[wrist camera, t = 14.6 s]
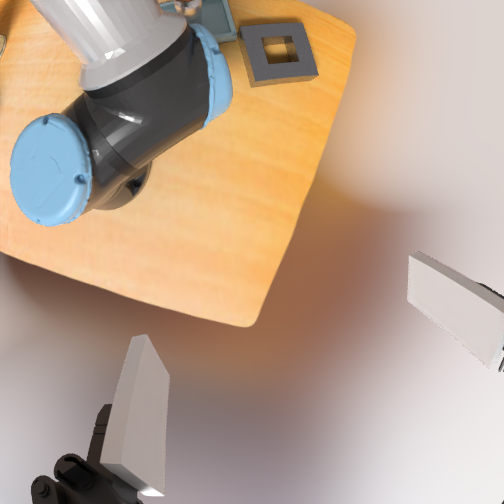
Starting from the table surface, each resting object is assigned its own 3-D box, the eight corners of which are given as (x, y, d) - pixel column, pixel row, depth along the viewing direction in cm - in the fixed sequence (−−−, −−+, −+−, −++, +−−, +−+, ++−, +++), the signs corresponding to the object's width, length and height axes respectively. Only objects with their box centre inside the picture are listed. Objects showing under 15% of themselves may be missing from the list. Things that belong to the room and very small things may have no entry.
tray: (156, 58, 36) (154, 53, 33) (148, 14, 32) (146, 8, 30) (235, 40, 37) (237, 35, 35) (223, -3, 33) (224, -9, 31)
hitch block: (251, 87, 40) (255, 81, 37) (237, 35, 37) (240, 26, 33) (310, 80, 41) (318, 75, 38) (295, 31, 38) (302, 22, 34)
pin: (179, 35, 34) (172, 0, 22) (174, 17, 33) (167, -20, 21) (205, 29, 35) (206, -7, 23) (200, 10, 33) (200, -28, 21)
